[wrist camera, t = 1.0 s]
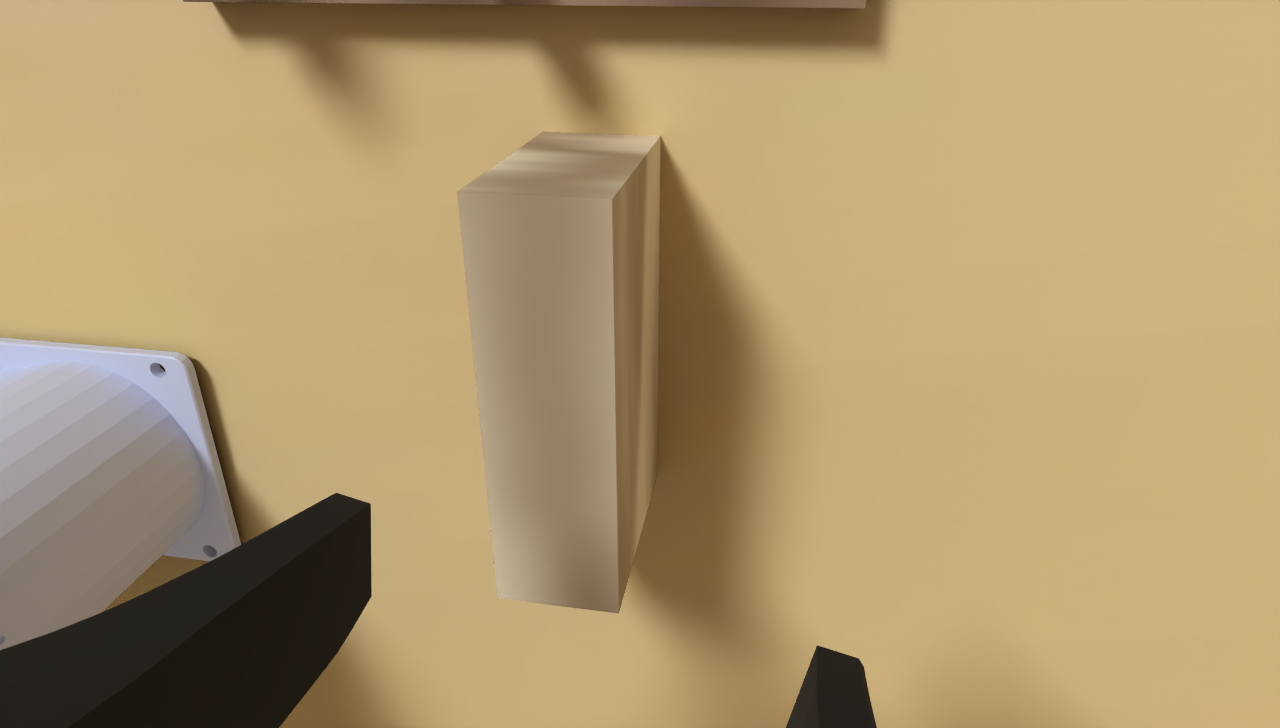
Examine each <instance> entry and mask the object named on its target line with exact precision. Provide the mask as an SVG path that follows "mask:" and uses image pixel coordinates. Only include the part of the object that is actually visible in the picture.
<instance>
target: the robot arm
mask: <svg viewBox="0 0 1280 728" xmlns="http://www.w3.org/2000/svg"><path fill="white" fill-rule="evenodd" d="M159 364H161V365H162V366H163V367H164V369H165V371H164V370H163V369H162V368H161V367H160V365H159ZM214 548H215V549H214ZM162 555H163V556H171V557H179V558H187V559H195V560H203V561H210V562H208V563H206V564H204V565H202V566H200V567H198V568H196V569H194V570H192V571H190V572H188V573H186V574H184V575H182V576H180V577H178V578H175V579H173V580H171V581H169V582H167V583H165V584H163V585H161V586H159V587H157V588H155V589H153V590H151V591H149V592H147V593H145V594H143V595H140V596H138V597H136V598H134V599H132V600H129V601H127V602H125V603H123V604H120V605H118V606H116V607H113V608H111V609H109V610H106V611H104V612H102V611H103V610H104V609H105V608H106V607H108V606H109V605H110V604H111V603H112V602H113V601H114V600H115V599H116V598H117V597H118V596H119V595H120V594H121V593H122V592H123V591H125V590H126V589H127V588H128V587H129V586H130V585H131V584H132V583H133V582H134V581H135V580H136V579H137V578H138V577H139V576H140V575H141V574H143V573H144V572H145V571H146V570H147V569H148V568H149V567H150V566H151V565H152V564H153V563H154V562H155V561H156V560H157V559H158V558H160V557H161V556H162ZM370 598H371V505H370V503H366V502H363V501H360V500H357V499H354V498H351V497H348V496H344V495H341V494H338V493H335V494H333V495H331V496H330V497H328V498H326V499H324V500H322V501H320V502H318V503H317V504H315V505H313V506H311V507H309V508H307V509H306V510H304V511H302V512H300V513H298V514H296V515H295V516H293V517H291V518H289V519H287V520H286V521H284V522H282V523H280V524H278V525H277V526H275V527H273V528H271V529H269V530H268V531H266V532H264V533H262V534H260V535H258V536H257V537H255V538H253V539H251V540H249V541H247V542H246V543H244V544H242V545H241V542H240V538H239V534H238V530H237V527H236V523H235V519H234V515H233V511H232V508H231V504H230V500H229V496H228V493H227V489H226V485H225V481H224V478H223V474H222V470H221V466H220V462H219V459H218V455H217V451H216V447H215V444H214V440H213V436H212V432H211V429H210V425H209V421H208V417H207V413H206V410H205V406H204V402H203V398H202V395H201V391H200V387H199V383H198V379H197V376H196V372H195V368H194V366H193V364H192V362H191V361H190V360H189V358H188V357H186V356H185V355H183V354H181V353H177V352H168V351H156V350H144V349H132V348H120V347H108V346H96V345H84V344H72V343H60V342H47V341H35V340H23V339H11V338H0V728H279V727H280V726H281V724H282V723H283V722H284V720H285V719H286V718H287V717H288V715H289V714H290V713H291V712H292V710H293V709H294V708H295V707H296V705H297V704H298V703H299V701H300V700H301V699H302V698H303V696H304V695H305V694H306V693H307V691H308V690H309V689H310V687H311V686H312V685H313V684H314V682H315V681H316V680H317V678H318V677H319V676H320V675H321V673H322V672H323V671H324V669H325V668H326V667H327V666H328V664H329V663H330V662H331V660H332V659H333V658H334V656H335V655H336V654H337V652H338V651H339V649H340V648H341V646H342V644H343V643H344V641H345V640H346V638H347V636H348V635H349V633H350V632H351V630H352V628H353V627H354V625H355V623H356V622H357V620H358V618H359V616H360V615H361V613H362V611H363V610H364V608H365V606H366V605H367V603H368V601H369V599H370ZM101 612H102V613H101ZM786 728H877V727H876V723H875V719H874V714H873V710H872V706H871V701H870V697H869V692H868V687H867V682H866V677H865V671H864V666H863V665H862V663H861V661H860V660H859V659H858V658H855V657H852V656H849V655H846V654H842V653H839V652H836V651H833V650H830V649H827V648H824V647H820V646H817V647H816V650H815V652H814V655H813V658H812V660H811V663H810V666H809V668H808V671H807V674H806V676H805V679H804V681H803V684H802V687H801V689H800V692H799V695H798V697H797V700H796V703H795V705H794V708H793V710H792V713H791V716H790V718H789V721H788V724H787V726H786Z"/></svg>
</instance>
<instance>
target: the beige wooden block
mask: <svg viewBox="0 0 1280 728" xmlns="http://www.w3.org/2000/svg"><path fill="white" fill-rule="evenodd" d="M660 151H661V136H650V135H621V134H592V133H563V132H542V133H541V134H539V135H538V136H536V137H535V138H533V139H532V140H531V141H529V142H528V143H526V144H525V145H523V146H522V147H521V148H519V149H518V150H516V151H515V152H514V153H512V154H511V155H509V156H508V157H506V158H505V159H504V160H502V161H501V162H499V163H498V164H496V165H495V166H494V167H492V168H491V169H489V170H488V171H486V172H485V173H484V174H482V175H481V176H479V177H478V178H476V179H475V180H474V181H472V182H471V183H469V184H468V185H467V186H465V187H464V188H462V189H461V190H459V191H458V192H457V194H458V205H459V215H460V225H461V235H462V245H463V255H464V265H465V275H466V285H467V295H468V305H469V315H470V325H471V335H472V345H473V356H474V366H475V376H476V386H477V396H478V406H479V416H480V426H481V436H482V446H483V456H484V466H485V476H486V486H487V496H488V506H489V517H490V527H491V537H492V547H493V557H494V567H495V577H496V587H497V597H498V598H500V599H508V600H516V601H524V602H532V603H540V604H548V605H556V606H564V607H572V608H580V609H588V610H596V611H604V612H612V613H619V610H620V607H621V603H622V600H623V596H624V593H625V589H626V585H627V582H628V578H629V575H630V571H631V568H632V564H633V560H634V557H635V553H636V550H637V546H638V543H639V539H640V535H641V532H642V528H643V525H644V521H645V518H646V514H647V510H648V507H649V503H650V500H651V496H652V493H653V489H654V485H655V482H656V478H657V453H658V352H659V251H660Z"/></svg>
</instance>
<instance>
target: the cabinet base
mask: <svg viewBox="0 0 1280 728" xmlns="http://www.w3.org/2000/svg"><path fill="white" fill-rule="evenodd" d="M183 2H275V3H376V4H478V5H579V6H680V7H782V8H865V6H866V0H183Z"/></svg>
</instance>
